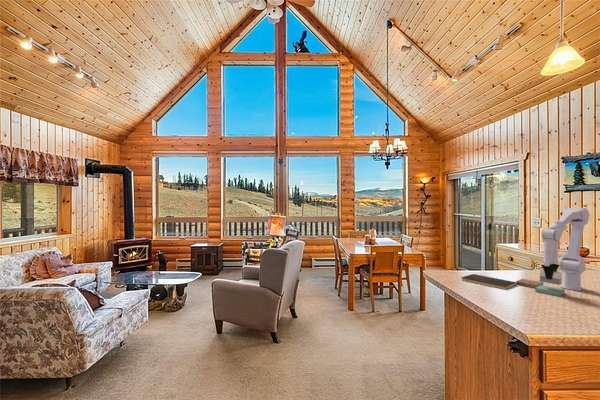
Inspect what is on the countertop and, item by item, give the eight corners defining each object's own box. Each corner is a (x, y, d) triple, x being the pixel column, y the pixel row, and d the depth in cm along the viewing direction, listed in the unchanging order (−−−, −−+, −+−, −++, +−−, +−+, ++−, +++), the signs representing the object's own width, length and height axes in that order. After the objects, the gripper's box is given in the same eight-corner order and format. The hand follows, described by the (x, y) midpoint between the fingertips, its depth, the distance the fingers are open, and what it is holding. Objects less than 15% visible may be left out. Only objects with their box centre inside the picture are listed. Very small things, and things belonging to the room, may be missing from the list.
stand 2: (541, 288, 172) (541, 284, 172) (564, 293, 165) (564, 289, 165) (535, 291, 166) (535, 287, 166) (559, 296, 158) (559, 292, 158)
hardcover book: (504, 290, 169) (504, 286, 169) (460, 281, 187) (461, 277, 187) (516, 286, 179) (516, 282, 179) (473, 277, 197) (473, 273, 197)
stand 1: (522, 282, 186) (522, 278, 186) (543, 285, 178) (543, 282, 178) (516, 284, 180) (516, 281, 180) (537, 288, 172) (537, 285, 172)
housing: (561, 283, 163) (561, 271, 163) (559, 284, 161) (559, 272, 161) (542, 280, 170) (542, 268, 170) (539, 281, 167) (540, 269, 167)
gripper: (545, 250, 173) (544, 275, 173) (537, 252, 164) (536, 278, 164) (561, 251, 167) (561, 277, 167) (554, 254, 158) (553, 281, 158)
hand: (550, 278), depth 165 cm, fingers closed on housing, 4 cm apart
